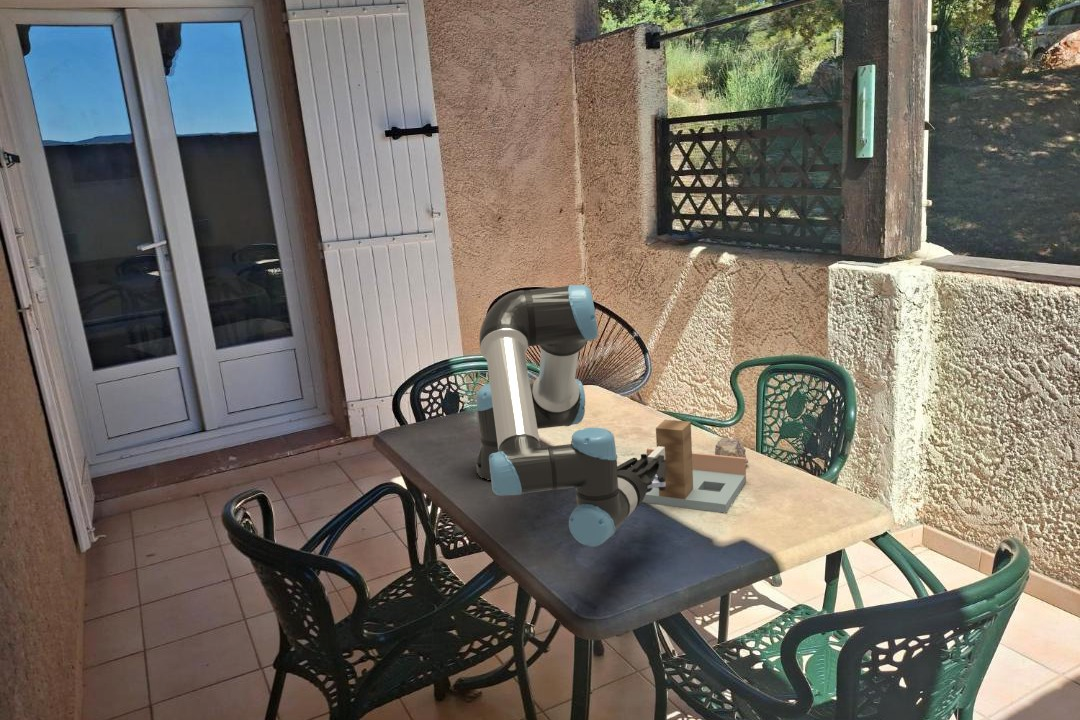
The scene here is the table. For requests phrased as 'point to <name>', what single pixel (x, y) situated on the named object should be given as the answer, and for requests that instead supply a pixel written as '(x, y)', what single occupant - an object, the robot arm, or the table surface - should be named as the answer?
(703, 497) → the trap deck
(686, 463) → the walnut block
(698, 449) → the table surface
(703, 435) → the table surface
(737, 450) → the mineral specimen
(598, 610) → the table surface
